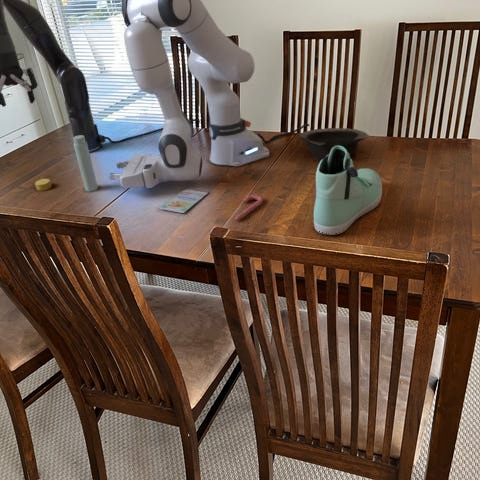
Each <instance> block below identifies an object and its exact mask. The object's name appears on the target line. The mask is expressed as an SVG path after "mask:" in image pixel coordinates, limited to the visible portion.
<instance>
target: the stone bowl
mask: <svg viewBox="0 0 480 480" xmlns="http://www.w3.org/2000/svg"><path fill="white" fill-rule="evenodd" d="M368 138H370V134H368V133H367V132H365V131H363V130H360V129H357V128H356V129H355V128H348V127H347V128H345V127H344V128H343V127H340V128H339V127H327V128H315V129H311V130H307V131H306V130H305V131H303V132H301V133H299V136H298V139H299V140H301V141H304V142H306V143H307V148H308V151H309V152H310V153H311V154H312V155H313V156H315V159H316V161H318V162H320V161H321V160H322V159H324V158H325V157H326V156H327V155H329V154H330V152H331V149H332V148H333V147H334V146H342V147H344V148H345V149H346V150H347V152H348V153H349V156H350V157H354V156H355V155H357V150H358V146H359V145H358V143H359V142H362V141H364V140H366V139H368Z"/></svg>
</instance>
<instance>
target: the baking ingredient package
mask: <svg viewBox="0 0 480 480" xmlns="http://www.w3.org/2000/svg"><path fill="white" fill-rule="evenodd" d="M207 194H208V192H206V191H199V190H194V189H188V188H184V189H183V190H182V191H180V192H179V193H177V194H176V195H175V196H174V197H173V198H171V199H169V200H168V201H167V202H165V203H164V204H163V205H161V206H160V207H159V208H158V209H160V210H166V211H169V212H175V213H180V214H184V213H186V212H187V211H188V210H190V208H192V207H193V206H194V205H195V204H196V203H198V202H199V201H200V200H202V198H204V197H205V196H206V195H207Z"/></svg>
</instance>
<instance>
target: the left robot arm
mask: <svg viewBox="0 0 480 480" xmlns="http://www.w3.org/2000/svg"><path fill="white" fill-rule="evenodd" d="M5 11H6V12H7V13H8V14H9V15H10V17H11V19H12V20H13V21H14V23H15V24H16V26H17V27H18V28H19V30H20V32H22V34H23V36H24V37H25V38H26V39H27V41H28V42H29V43H30V44H31V45H32V47H33V48H34V49H35V50H36V51H37V52H38V54H40V55H41V56H42V58H43V59H44V60H45V61H46V63H47V64H48V66H49V68H50V69H51V71H52V73H53V74H54V76H55V78H56V80H57V82H58V84H59V85H60V86H61V91H62V94H63V95H62V96H63V99H64V106H65V110H66V114H67V115H66V116H67V118H68V122H69V126H70V130H71V133H72V138H73V137H75V136H79V135H83V136H84V137H85V141H86V142H87V145H88V149H89V153H92V152H96V151H97V150H99V149H100V148H102V144H103V143H106V141H107V140H108V141H109V142H110V143H111V144H118V143H122V142H126V141H129V140H132V139H133V140H134V139H136V138H140V137H141V138H142V137H143V136H148V135H151V134H154V133H158V132H160V131H161V132H162V131H163V127H161V128H158V129H153V130H150V131H147V132H144V133H140V134H136V135H133V136H128V137H125V138H122V139H120V140H112V139H111V138H110V137H109V136H105V135H103V134H100V133H99V129H98V125H97V123H95V121H94V116H93V113H92V108H91V104H90V95H89V90H88V86H87V81H86V77H85V75H84V73H83V71H82V70H81V69H80V68H79V67H77V66H76V65H75V64H74V63H73V61H72V60H71V59H70V58H69V57H68V56H67V54H66V53H65V52H64V51H63V49H62V47H61V45H60V44H59V42H58V39H57V37H56V35H55V34H54V32H53V30H52V28H51V26H50V25H49V23H48V22H47V21H46V19H45V17H44V16H43V14H42V13H41V11H39V9H38V8H36V7H35V6H33V5H31V4H30V3H28V2H26V1H24V0H0V106H1V107H6V106H7V103H6V100H5V97H4V96H5V95H4V94H3V92H2V91H3V89H4V87H5V86H6V87H9V86H17V85H20V86H21V87H22V88H24V89H25V90H26V94H27V97H28V100H29V103H30V104H34V102H35V100H36V97H35V94H34V90H35V89H37V88H38V85H39V84H38V82H37V79H36V76H35V73H34V70H33V68H32V67H28V68H22V67H21V64H20V61H19V58H18V55H17V51H16V45H15V44H14V41H13V38H12V36H11V33H10V29H9V28H8V23H7V20H6V16H5ZM24 74H25V76H26V77H28V80H29V82H30V84H29V82H28V81H27V80H26V79H25V78H24V77H23V76H24ZM189 121H190V122H191V123H193V122H197V123H201V120H199V119H197V118H193V119H189Z"/></svg>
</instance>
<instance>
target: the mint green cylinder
mask: <svg viewBox="0 0 480 480" xmlns="http://www.w3.org/2000/svg"><path fill="white" fill-rule="evenodd" d="M72 141H73V148H74V151H75V155H76V159H77V163H78V167H79V171H80V174H81V175H80V176H81V179H82V183H83V186H84V190H85V191H86V192H94V191H97V190H98V189H99V186H98V182H97V179H96V178H97V177H96V174H95V170H94V166H93V162H92V157H91V154H90V152H89V149H88V145H87V142H86V141H85V137H84V136H83V135H79V136H75V137H73V136H72Z"/></svg>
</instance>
